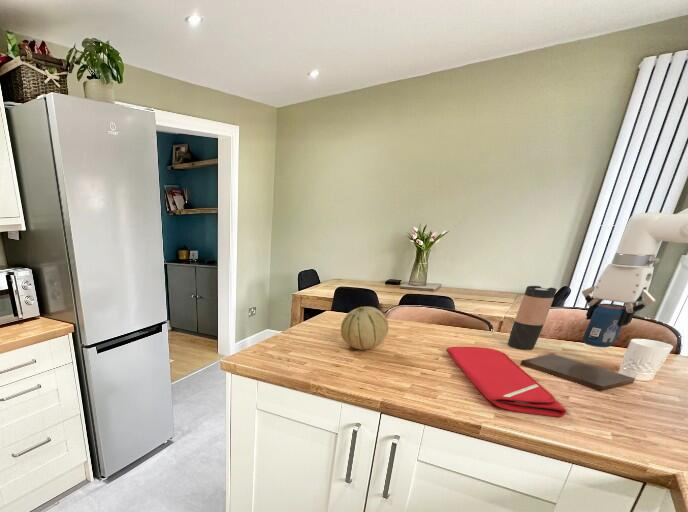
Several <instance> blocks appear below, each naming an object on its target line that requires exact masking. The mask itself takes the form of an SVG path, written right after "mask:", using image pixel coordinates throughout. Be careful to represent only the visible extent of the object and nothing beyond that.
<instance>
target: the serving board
mask: <svg viewBox="0 0 688 512" xmlns="http://www.w3.org/2000/svg"><path fill="white" fill-rule="evenodd" d="M519 366H522V367H525V368H527V369H532V370H534V371H537V372H540V373H543V374H546V373H547V374H546V375H549V374H550V376H552V375H553V376H552V377H555V376H556V378H559V379H562V380H565V381H568V382H571V383H573V382H574V384H576V383H577V385H579V384H580V385H579V386H583V387H586V388H589V389H592V390H595V391H598V392H604V391H608V390H612V389H617V388H620V387H624V386H628V385H631V384H634V382H635V381H636V380H635V378H632V377H629V376H625V375H622V374H619V373H618V372H615V371H611V370H608V369H605V368H601V367H598V366H594V365H591V364H587V363H584V362H580V361H578V360H574V359H570V358H567V357H563V356H559V355H556V354H553V353H552V354H546V355H542V356H536V357H532V358H527V359H522V360H521V361H520V365H519Z"/></svg>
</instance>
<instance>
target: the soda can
mask: <svg viewBox="0 0 688 512" xmlns="http://www.w3.org/2000/svg"><path fill="white" fill-rule="evenodd" d="M626 311H627V310H626V305H623V304H622V305H621V304H616V303H599V305H598V307H597V308H596V309H595V310H594V312H593V314H592V317H591V319H590V320H589V321H588V322H589V323H588V324H587V325H586V326H587V327H586V329H585V332H584V334H583V337H582V340H583V343H584V344H585V345H586V346H590V347H595V348H604V349H605V348H610V347H611V346H612V345H614V344H615V343H616V341H617V339H618V336H619V333H620V332H621V330H622V327H623V326H619V325H618V324H619V322H620V319H621V317H622V315H623V313H624V312H626Z"/></svg>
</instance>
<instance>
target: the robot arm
mask: <svg viewBox="0 0 688 512" xmlns="http://www.w3.org/2000/svg"><path fill="white" fill-rule="evenodd" d="M661 242H668V243H669V242H670V243H675V244H677V243H678V244H688V207H687V208H685V209H683V210H681V211H679V212H677V213H670V214H669V213H667V212H639V213H635V214H632V215H631V216H630V218H629V219H628V221H627V223H626V225H625V228H624V230H623V233H622V236H621V238H620V241H619V243H618V246H617V248H616V251H615V253H614V256H613V258H612V260H611V263H608V264H607V265H606V267H605V268H604V269H603V271H602V273H601V274H600V276H599V278H598V280H597V282H596V283H595V285H593V286H591V287H588V288H586V289H584V290H582V291H581V293H582V295H583V297H584V300H585V301H586V303H587V306H588V309H587V312H586V314H585V316H586V317H585V320H587V321H590V319H591V317H592V314H593V312H594V310H595V309H596V308H597V307H598V306H599V304H602V302H603V301H609V302H616V303H617V302H618V303H623V304H625V305H624V306H626V310H627V311H626V312H624V313H623V315H622V317H621V319H620V322H619V324H618V325H619V326H622V327H624V326H625V327H626V326H628V325H629V324H631V322H632V320H633V318H634V315H635V314H636V313H637V312H639V311H641V310H643V309H645V308H647V307H649V306H651V305H653V304H655V303H656V302H657V300H656V299H655V297H653V296H652V294H650V293H649V289H650V286H651V283H652V279H653V275H654V270H655V269H654V268H655V267H654V266H652V265H653V264H658V263H659V262H660V261H661V260H660V257H657V256H656V253H657V250H658V248H659V246H660V244H661ZM643 301H644V302H643ZM639 302H641V303H640V304H638V303H639Z"/></svg>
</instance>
